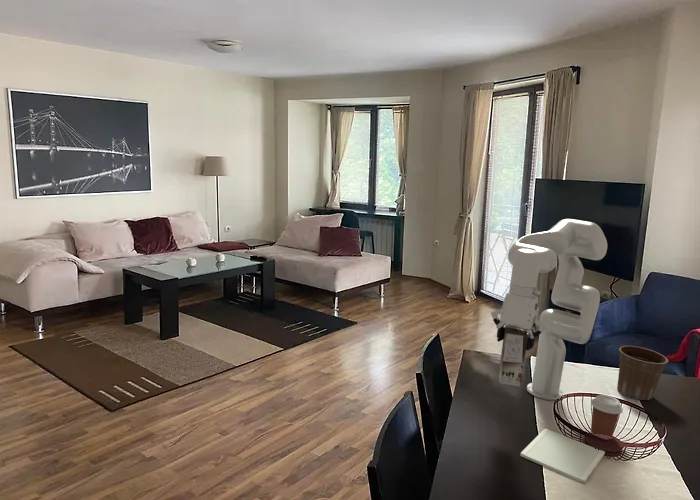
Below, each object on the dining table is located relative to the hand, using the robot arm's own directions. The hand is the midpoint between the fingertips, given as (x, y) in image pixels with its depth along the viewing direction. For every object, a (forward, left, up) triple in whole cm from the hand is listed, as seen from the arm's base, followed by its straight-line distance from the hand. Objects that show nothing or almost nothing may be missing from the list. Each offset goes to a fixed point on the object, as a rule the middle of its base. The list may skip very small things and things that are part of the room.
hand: (514, 344), depth 167 cm
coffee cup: (-21, +24, -28) cm, 43 cm away
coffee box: (0, 0, -12) cm, 12 cm away
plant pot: (-64, +25, -28) cm, 74 cm away
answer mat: (+1, +19, -28) cm, 34 cm away
